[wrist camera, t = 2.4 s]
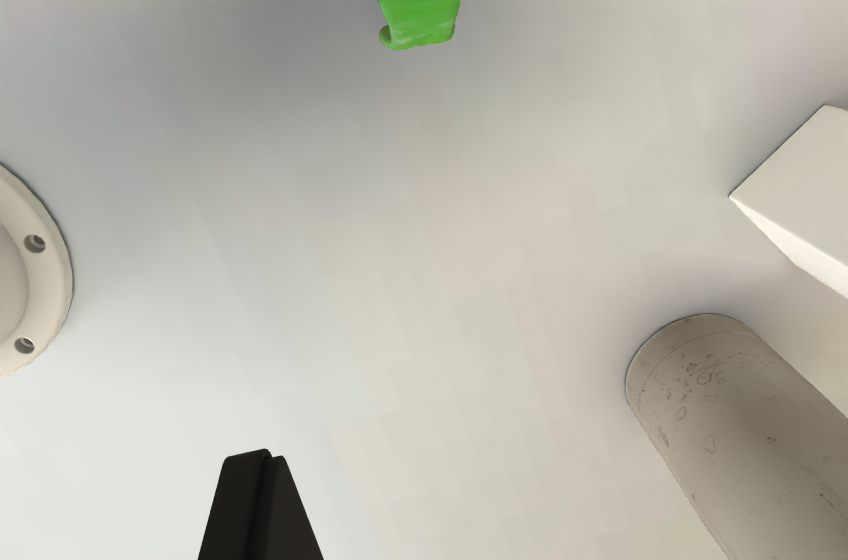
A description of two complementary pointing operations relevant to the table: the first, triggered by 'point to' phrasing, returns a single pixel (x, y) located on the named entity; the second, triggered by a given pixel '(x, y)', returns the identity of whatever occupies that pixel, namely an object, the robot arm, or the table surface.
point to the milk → (806, 197)
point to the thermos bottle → (745, 440)
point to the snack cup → (417, 22)
